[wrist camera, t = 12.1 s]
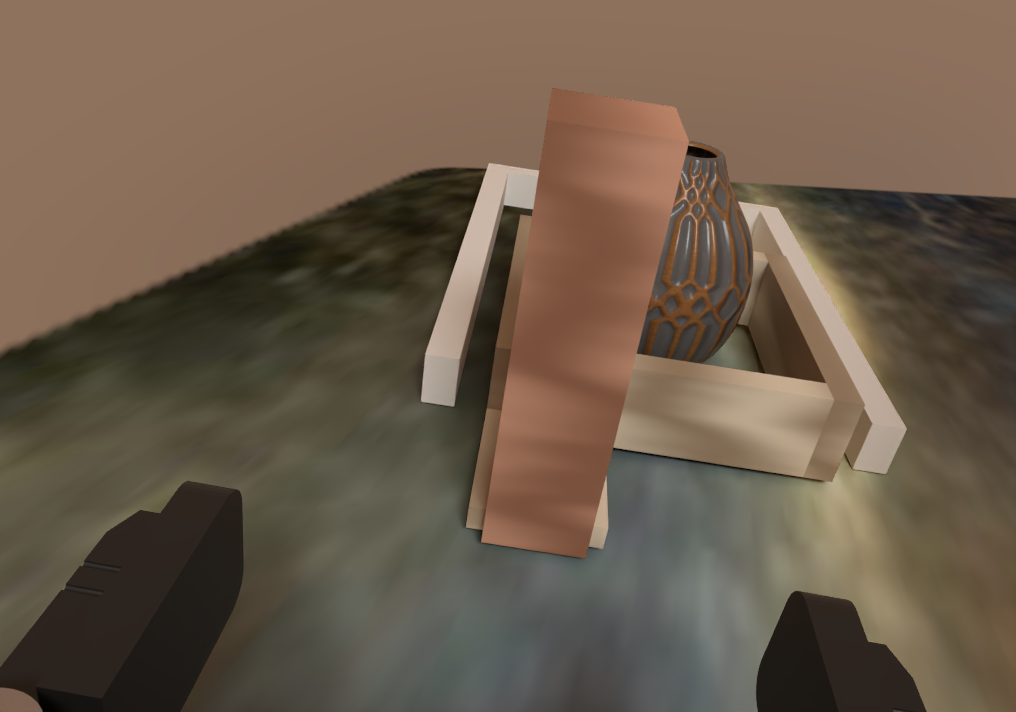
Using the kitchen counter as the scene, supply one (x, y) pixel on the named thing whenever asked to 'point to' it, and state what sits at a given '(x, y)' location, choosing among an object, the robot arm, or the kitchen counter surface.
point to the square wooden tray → (632, 344)
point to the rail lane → (769, 235)
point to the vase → (700, 265)
